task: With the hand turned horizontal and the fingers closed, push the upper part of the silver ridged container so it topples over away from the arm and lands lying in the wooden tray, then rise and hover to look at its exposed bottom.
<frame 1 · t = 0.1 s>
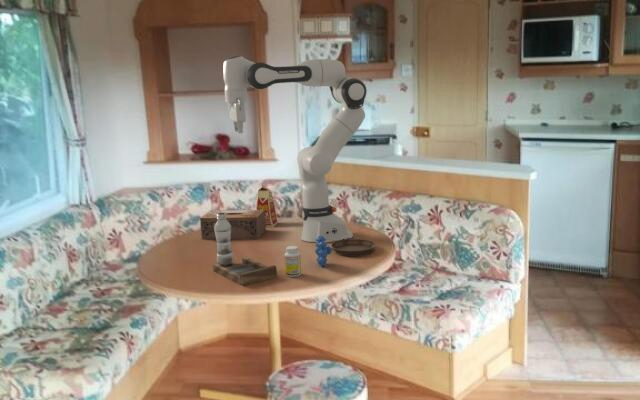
hand: (238, 132, 253), 48 cm above the table, tool pointing down, fingers open, 8 cm apart
plant saucer: (353, 252, 249), on the table
milk carton: (266, 225, 299), on the table
wooden tray: (242, 272, 228), on the table
supplement bottle: (293, 275, 223), on the table
silver ridged container: (225, 265, 239), on the table
tissue box cover: (234, 235, 283), on the table
grapes: (324, 266, 232), on the table
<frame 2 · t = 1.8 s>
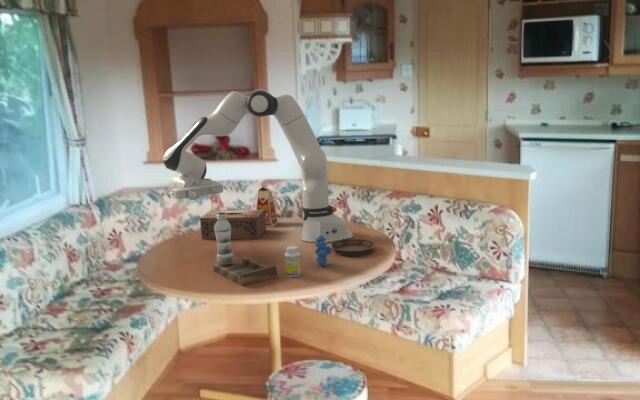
hand: (206, 193, 243), 26 cm above the table, tool horizontal, fingers open, 6 cm apart
nothing on the table moved.
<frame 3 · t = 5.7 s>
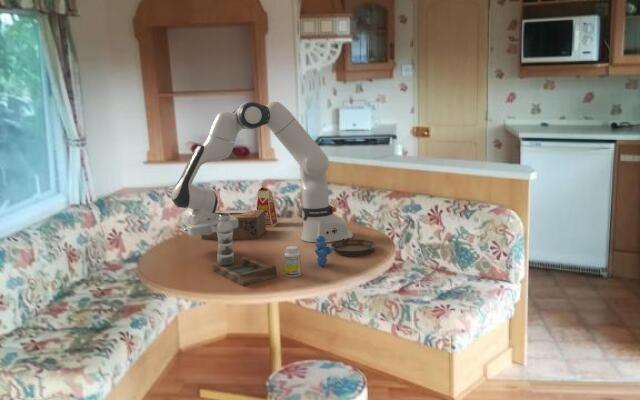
hand: (221, 230, 237), 13 cm above the table, tool horizontal, fingers closed
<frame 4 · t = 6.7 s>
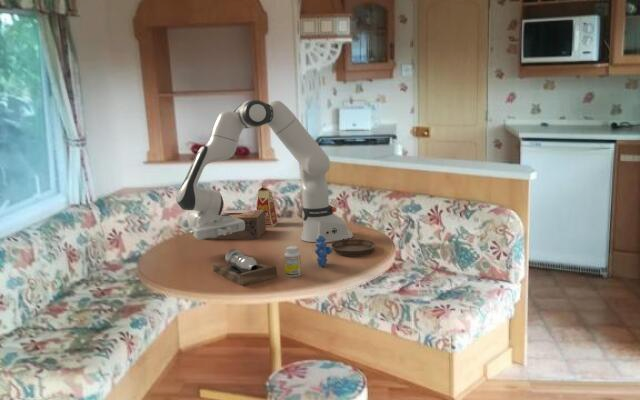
hand: (228, 232, 233), 13 cm above the table, tool horizontal, fingers closed
silver ridged container: (231, 255, 237), point 4 cm above the table, touching wooden tray
everything else where it was.
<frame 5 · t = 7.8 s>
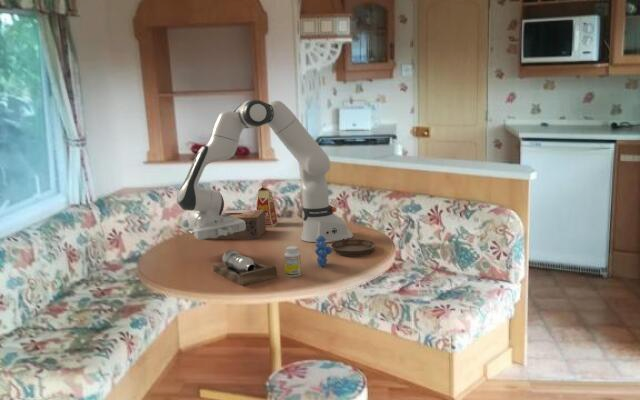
hand: (229, 232, 232), 14 cm above the table, tool horizontal, fingers closed
silver ridged container: (228, 257, 237), point 3 cm above the table, touching wooden tray
everything else where it was.
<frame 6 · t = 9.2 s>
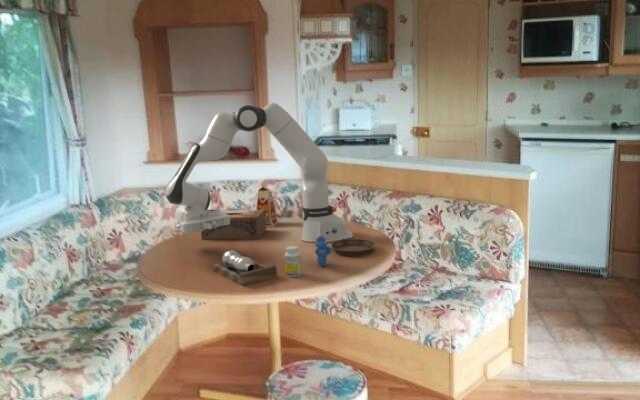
hand: (213, 226, 242), 14 cm above the table, tool horizontal, fingers closed
nothing on the table moved.
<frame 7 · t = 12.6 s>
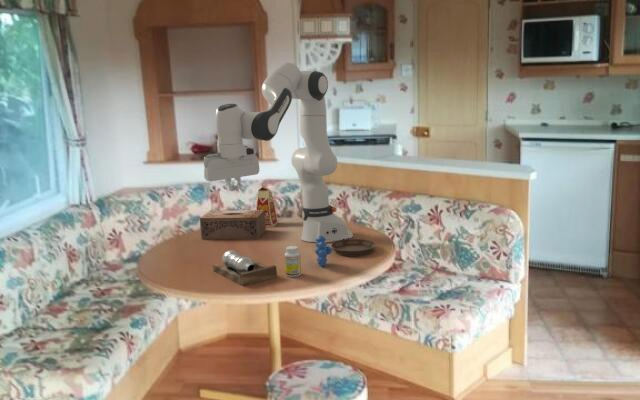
hand: (233, 190, 221), 31 cm above the table, tool pointing down, fingers closed
nothing on the table moved.
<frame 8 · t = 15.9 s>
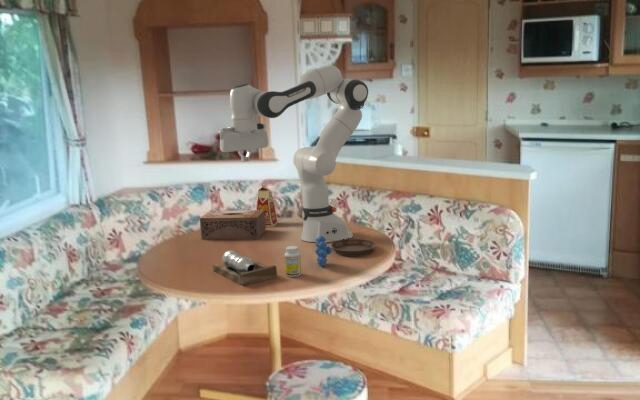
hand: (245, 161, 248), 37 cm above the table, tool pointing down, fingers closed
nothing on the table moved.
at the end: silver ridged container tilted 89°; silver ridged container inside the target area on the wooden tray (8.7 cm from its centre), point 3.4 cm above the wooden tray's base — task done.
